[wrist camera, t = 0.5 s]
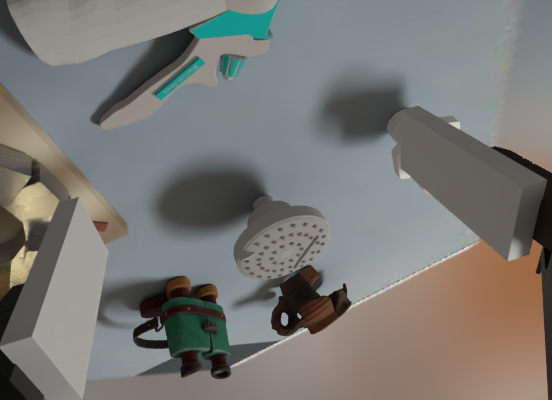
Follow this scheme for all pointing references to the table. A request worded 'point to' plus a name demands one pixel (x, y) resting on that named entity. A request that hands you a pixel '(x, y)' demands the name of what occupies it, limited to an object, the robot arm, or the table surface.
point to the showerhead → (280, 239)
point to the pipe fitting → (395, 133)
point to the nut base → (35, 142)
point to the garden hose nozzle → (145, 26)
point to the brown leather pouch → (307, 304)
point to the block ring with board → (25, 212)
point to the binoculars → (188, 327)
